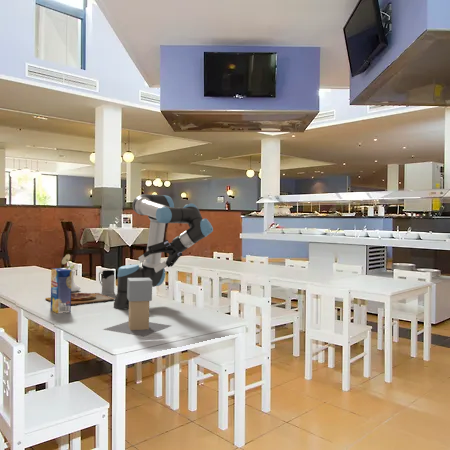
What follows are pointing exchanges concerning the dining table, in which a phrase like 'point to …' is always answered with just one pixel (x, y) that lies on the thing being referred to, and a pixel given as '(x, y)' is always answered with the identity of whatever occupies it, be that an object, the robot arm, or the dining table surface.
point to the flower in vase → (73, 285)
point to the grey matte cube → (139, 289)
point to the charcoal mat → (125, 329)
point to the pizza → (87, 298)
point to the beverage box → (61, 290)
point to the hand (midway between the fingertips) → (147, 265)
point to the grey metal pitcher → (107, 282)
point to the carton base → (138, 315)
